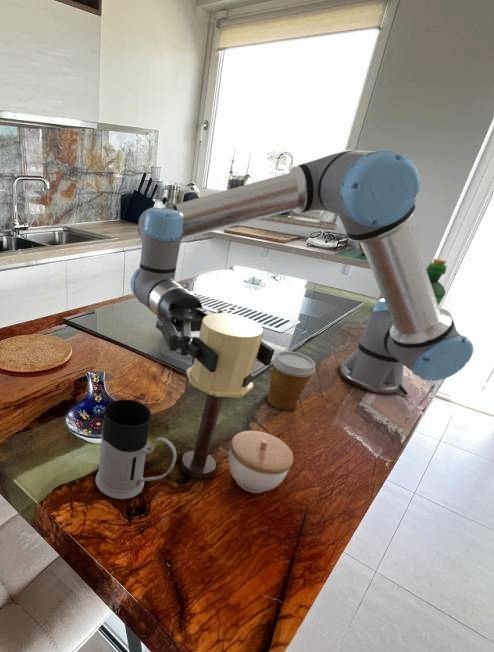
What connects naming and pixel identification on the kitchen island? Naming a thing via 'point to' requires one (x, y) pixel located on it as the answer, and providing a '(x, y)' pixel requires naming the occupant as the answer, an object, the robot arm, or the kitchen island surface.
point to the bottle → (437, 277)
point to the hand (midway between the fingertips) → (243, 360)
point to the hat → (227, 355)
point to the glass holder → (126, 449)
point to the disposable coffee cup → (289, 378)
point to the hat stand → (203, 443)
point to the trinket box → (259, 461)
